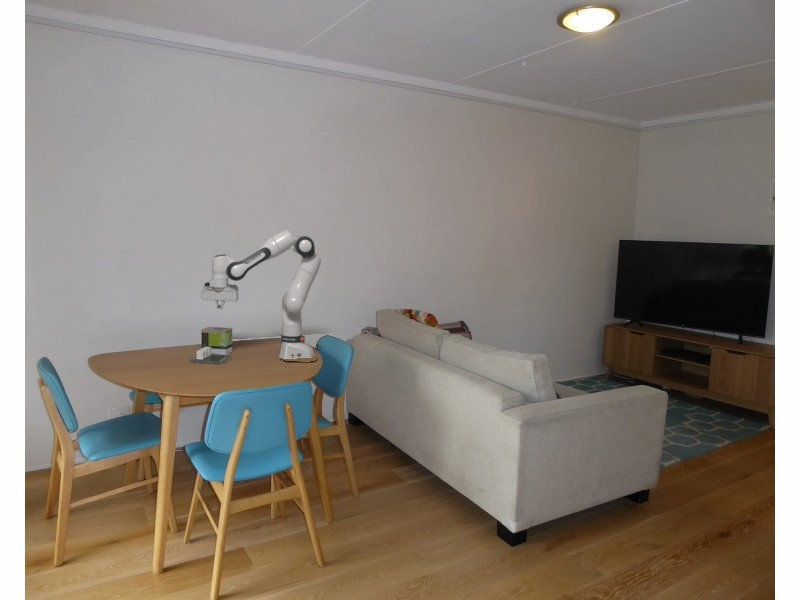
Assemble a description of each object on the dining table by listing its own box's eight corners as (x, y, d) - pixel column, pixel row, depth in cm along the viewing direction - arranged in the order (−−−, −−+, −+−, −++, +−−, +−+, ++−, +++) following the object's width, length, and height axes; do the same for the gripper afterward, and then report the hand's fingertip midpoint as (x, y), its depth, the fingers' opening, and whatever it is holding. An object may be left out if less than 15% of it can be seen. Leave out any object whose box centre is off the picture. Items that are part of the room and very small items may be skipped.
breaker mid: (208, 356, 308) (208, 348, 307) (206, 357, 305) (206, 349, 304) (201, 356, 308) (202, 348, 308) (199, 357, 305) (199, 349, 305)
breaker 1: (205, 358, 304) (205, 350, 303) (202, 359, 301) (202, 351, 300) (198, 357, 304) (198, 349, 303) (196, 359, 301) (196, 351, 300)
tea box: (232, 352, 330) (232, 327, 328) (225, 355, 320) (226, 330, 318) (208, 350, 331) (208, 325, 330) (200, 353, 321) (201, 328, 320)
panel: (231, 358, 313) (231, 356, 313) (222, 364, 299) (222, 361, 299) (200, 356, 314) (200, 354, 314) (189, 362, 300) (189, 359, 300)
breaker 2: (211, 354, 312) (211, 347, 312) (209, 355, 309) (209, 348, 309) (205, 354, 313) (205, 346, 312) (203, 355, 310) (203, 347, 309)
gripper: (240, 284, 308) (239, 308, 310) (204, 282, 309) (204, 306, 310) (236, 285, 302) (236, 310, 303) (199, 283, 302) (199, 308, 304)
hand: (219, 308), depth 307 cm, fingers closed
